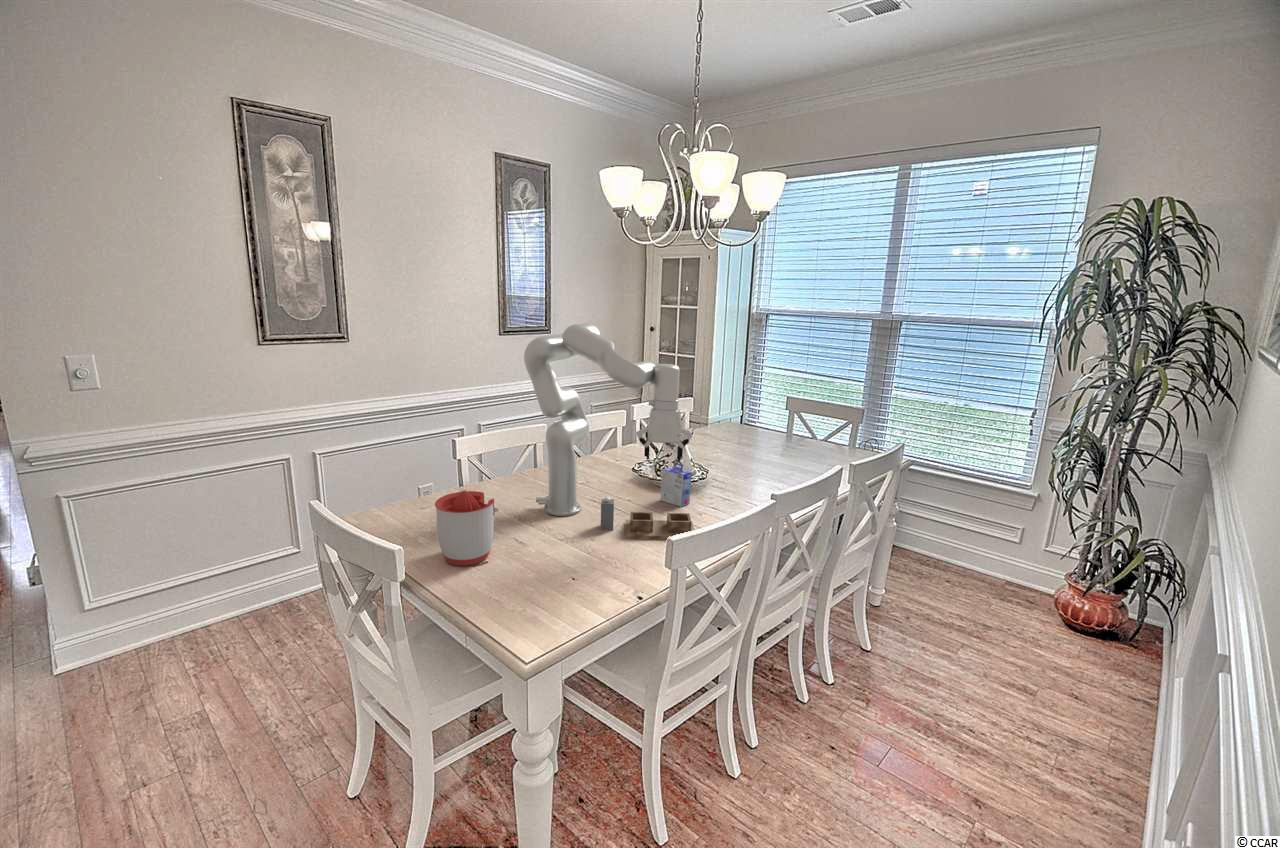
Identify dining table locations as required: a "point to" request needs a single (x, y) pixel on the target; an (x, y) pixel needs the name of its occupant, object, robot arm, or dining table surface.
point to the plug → (607, 513)
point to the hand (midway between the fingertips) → (663, 459)
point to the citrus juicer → (465, 527)
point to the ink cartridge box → (676, 485)
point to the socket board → (657, 525)
